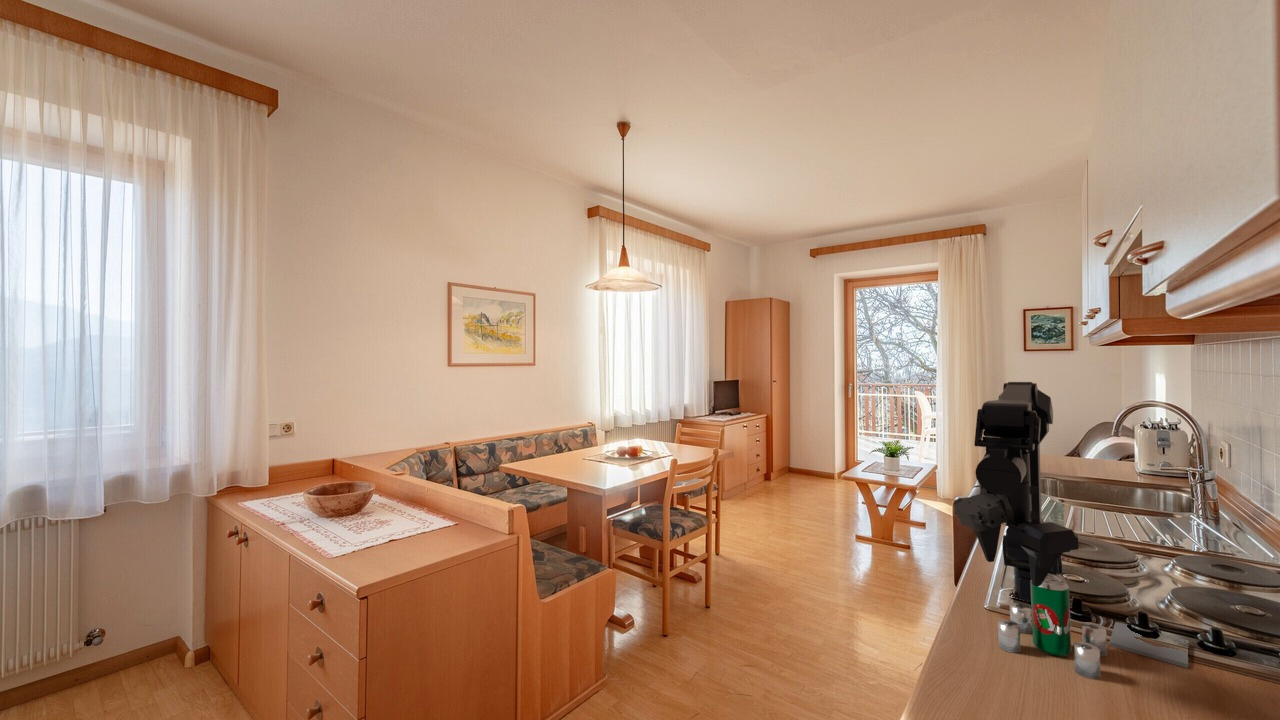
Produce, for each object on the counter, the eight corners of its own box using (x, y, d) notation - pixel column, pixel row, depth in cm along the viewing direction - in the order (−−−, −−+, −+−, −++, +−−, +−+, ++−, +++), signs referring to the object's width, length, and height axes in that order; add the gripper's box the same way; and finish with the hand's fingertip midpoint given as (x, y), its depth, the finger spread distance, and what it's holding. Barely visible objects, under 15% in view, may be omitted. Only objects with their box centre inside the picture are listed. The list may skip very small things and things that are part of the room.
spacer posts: (1012, 622, 94) (1011, 600, 94) (1108, 650, 85) (1107, 626, 85) (996, 647, 87) (995, 623, 87) (1099, 681, 77) (1098, 654, 77)
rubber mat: (1115, 625, 92) (1115, 621, 92) (1188, 644, 86) (1188, 640, 86) (1109, 645, 86) (1109, 642, 86) (1188, 668, 80) (1187, 664, 80)
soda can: (1057, 641, 88) (1054, 571, 88) (1079, 658, 83) (1076, 584, 83) (1025, 640, 89) (1023, 571, 89) (1045, 658, 84) (1043, 584, 84)
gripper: (925, 469, 93) (928, 555, 93) (1010, 500, 74) (1014, 606, 75) (982, 464, 94) (985, 549, 94) (1080, 493, 75) (1083, 598, 76)
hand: (1012, 573), depth 85 cm, fingers open, 9 cm apart
